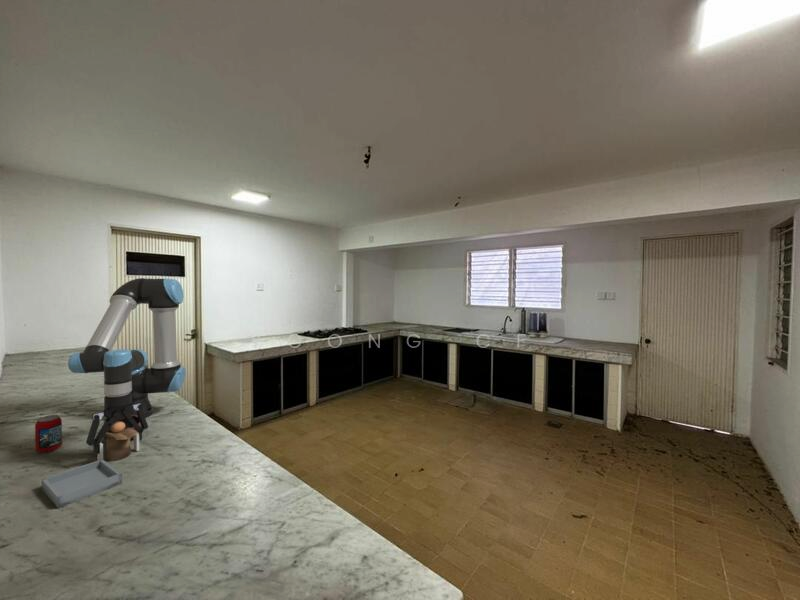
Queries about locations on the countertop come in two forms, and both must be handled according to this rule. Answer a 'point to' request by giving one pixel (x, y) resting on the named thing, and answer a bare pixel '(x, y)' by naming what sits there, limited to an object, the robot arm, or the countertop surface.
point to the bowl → (127, 424)
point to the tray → (80, 482)
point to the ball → (117, 426)
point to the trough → (119, 443)
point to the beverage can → (48, 433)
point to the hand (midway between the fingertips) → (119, 455)
